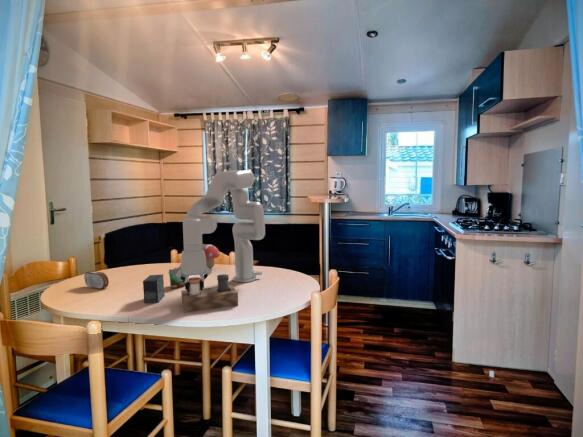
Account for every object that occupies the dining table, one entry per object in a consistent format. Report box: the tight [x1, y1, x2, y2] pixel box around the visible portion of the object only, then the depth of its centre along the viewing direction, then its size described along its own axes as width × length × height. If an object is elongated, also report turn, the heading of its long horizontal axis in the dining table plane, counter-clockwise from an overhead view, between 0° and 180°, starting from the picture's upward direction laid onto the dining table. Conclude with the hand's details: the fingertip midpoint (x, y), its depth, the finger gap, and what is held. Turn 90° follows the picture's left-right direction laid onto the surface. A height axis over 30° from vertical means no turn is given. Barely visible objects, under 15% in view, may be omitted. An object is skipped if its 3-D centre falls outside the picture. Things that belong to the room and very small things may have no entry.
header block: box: [181, 284, 239, 313], centre depth 156 cm, size 22×12×6 cm, turn 111°
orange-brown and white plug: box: [188, 276, 201, 296], centre depth 153 cm, size 5×5×12 cm
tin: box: [83, 270, 110, 290], centre depth 183 cm, size 15×3×8 cm, turn 65°
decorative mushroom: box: [203, 244, 221, 270], centre depth 222 cm, size 13×13×15 cm
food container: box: [168, 263, 185, 290], centre depth 185 cm, size 12×6×10 cm, turn 168°
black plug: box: [216, 273, 230, 292], centre depth 158 cm, size 5×5×12 cm
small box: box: [142, 274, 165, 304], centre depth 163 cm, size 11×6×10 cm, turn 5°
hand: (194, 290), depth 153 cm, fingers closed on orange-brown and white plug, 4 cm apart
